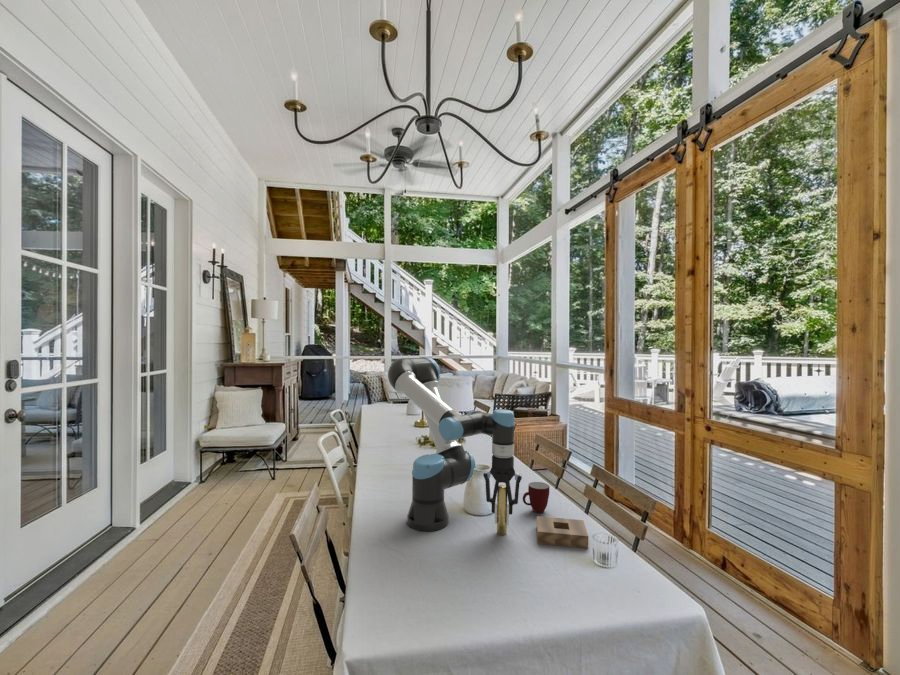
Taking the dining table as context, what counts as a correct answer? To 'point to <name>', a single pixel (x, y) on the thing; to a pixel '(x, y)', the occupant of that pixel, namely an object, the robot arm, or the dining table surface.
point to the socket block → (562, 532)
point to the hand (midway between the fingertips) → (501, 522)
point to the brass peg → (502, 510)
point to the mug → (537, 496)
